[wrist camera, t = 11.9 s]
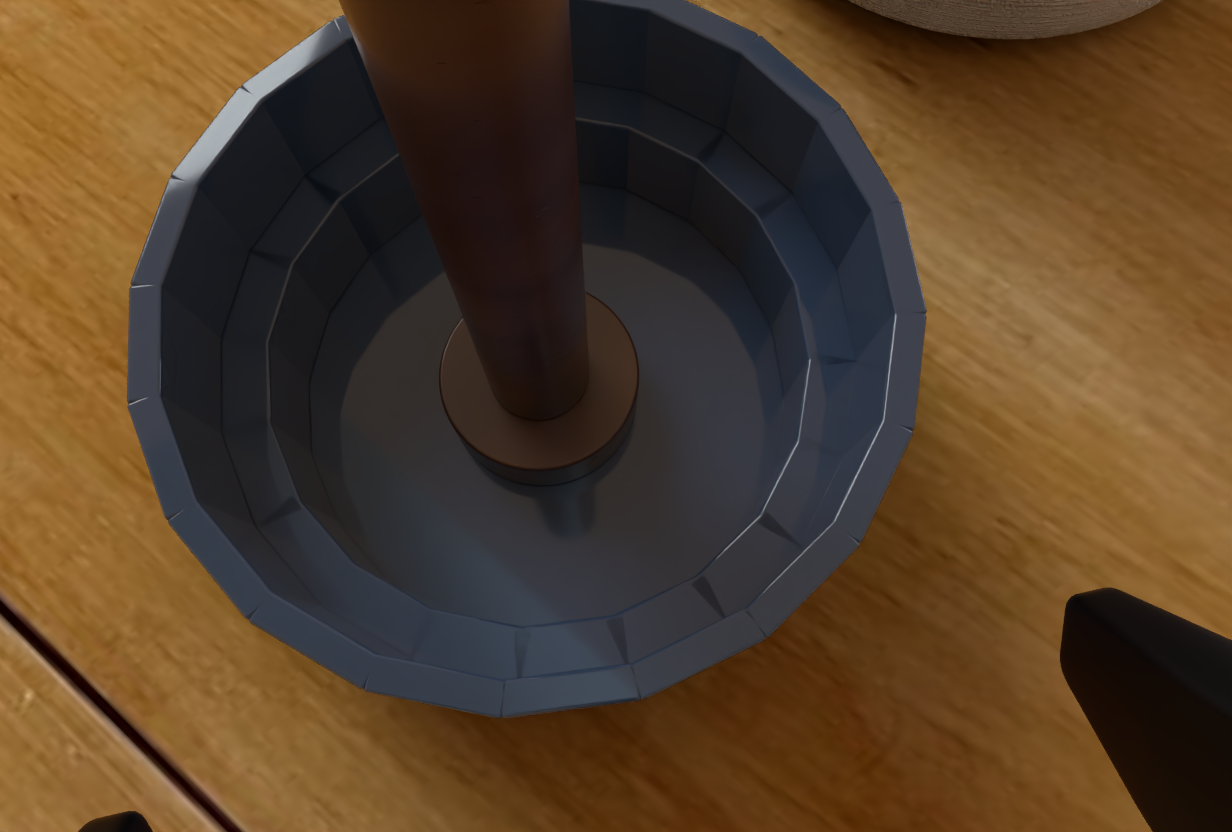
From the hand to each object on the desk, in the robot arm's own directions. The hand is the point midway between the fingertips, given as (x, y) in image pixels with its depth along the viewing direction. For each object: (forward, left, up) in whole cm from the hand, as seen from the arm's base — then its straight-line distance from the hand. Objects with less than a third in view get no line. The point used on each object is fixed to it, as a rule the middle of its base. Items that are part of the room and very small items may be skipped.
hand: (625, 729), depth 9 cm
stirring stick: (+5, -5, -11) cm, 14 cm away
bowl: (+5, -5, -12) cm, 14 cm away
